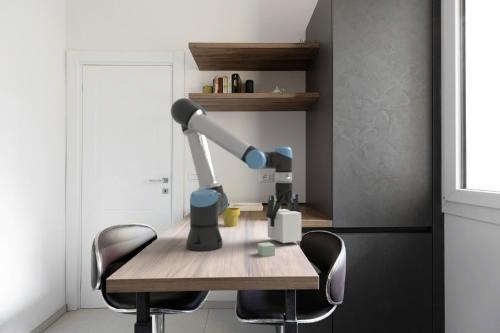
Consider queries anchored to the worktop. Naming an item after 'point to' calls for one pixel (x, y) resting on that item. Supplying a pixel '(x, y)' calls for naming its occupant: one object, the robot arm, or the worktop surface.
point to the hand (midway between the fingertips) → (283, 232)
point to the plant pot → (231, 216)
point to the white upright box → (286, 226)
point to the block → (266, 249)
